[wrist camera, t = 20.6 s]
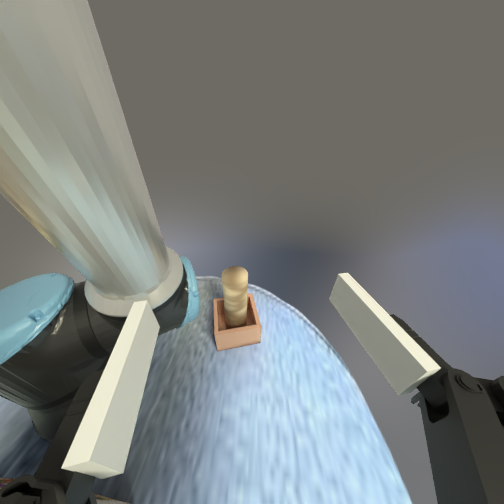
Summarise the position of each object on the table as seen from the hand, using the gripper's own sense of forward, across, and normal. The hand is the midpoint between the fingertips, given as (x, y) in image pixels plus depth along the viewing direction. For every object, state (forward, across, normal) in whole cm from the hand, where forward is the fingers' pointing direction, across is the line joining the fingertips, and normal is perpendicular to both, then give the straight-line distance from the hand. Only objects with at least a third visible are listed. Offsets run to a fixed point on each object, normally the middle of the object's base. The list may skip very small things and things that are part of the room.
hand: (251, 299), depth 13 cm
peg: (+18, 0, -29) cm, 34 cm away
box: (+18, 0, -30) cm, 35 cm away
